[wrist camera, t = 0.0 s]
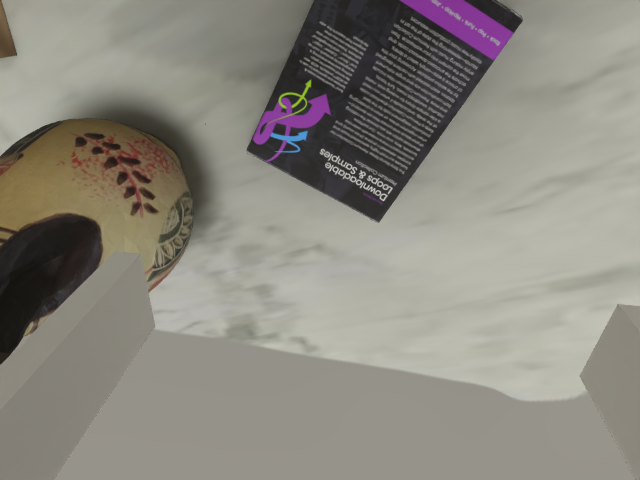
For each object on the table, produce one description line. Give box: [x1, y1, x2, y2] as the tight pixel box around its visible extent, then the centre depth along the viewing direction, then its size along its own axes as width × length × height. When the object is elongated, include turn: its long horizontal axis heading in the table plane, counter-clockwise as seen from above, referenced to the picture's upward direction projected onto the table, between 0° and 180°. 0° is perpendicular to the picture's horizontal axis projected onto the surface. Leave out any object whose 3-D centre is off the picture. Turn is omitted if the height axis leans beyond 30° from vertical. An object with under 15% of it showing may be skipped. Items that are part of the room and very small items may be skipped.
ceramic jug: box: [0, 118, 206, 354], centre depth 29 cm, size 17×15×30 cm
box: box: [246, 0, 523, 223], centre depth 34 cm, size 14×4×20 cm
